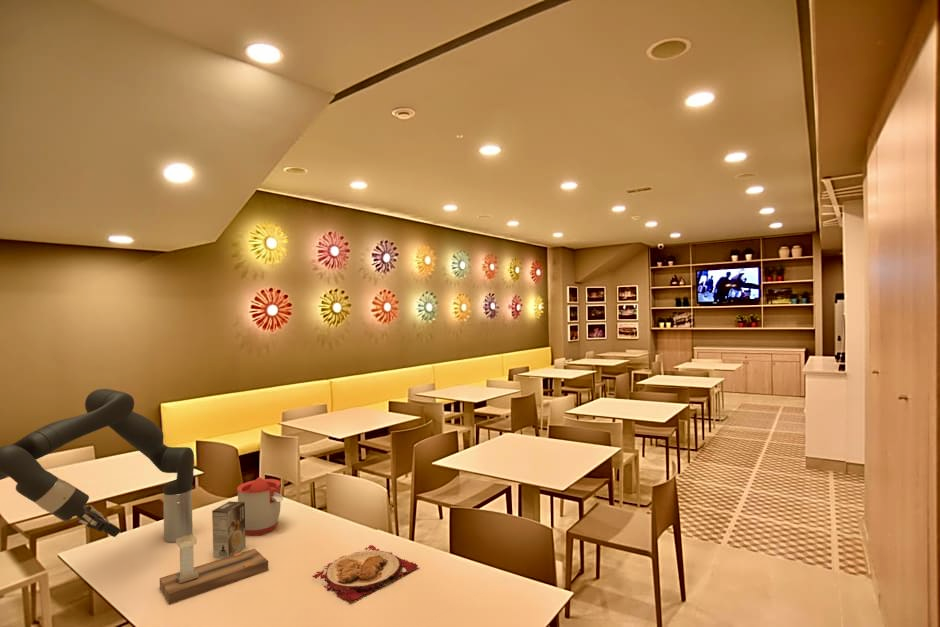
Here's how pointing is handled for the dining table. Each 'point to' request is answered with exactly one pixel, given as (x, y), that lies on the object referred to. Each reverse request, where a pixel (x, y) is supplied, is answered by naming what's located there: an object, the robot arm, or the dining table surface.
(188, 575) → the slider tab
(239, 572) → the brown wooden slider base
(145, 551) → the dining table surface
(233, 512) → the coffee box
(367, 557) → the plate with food
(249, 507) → the citrus juicer
